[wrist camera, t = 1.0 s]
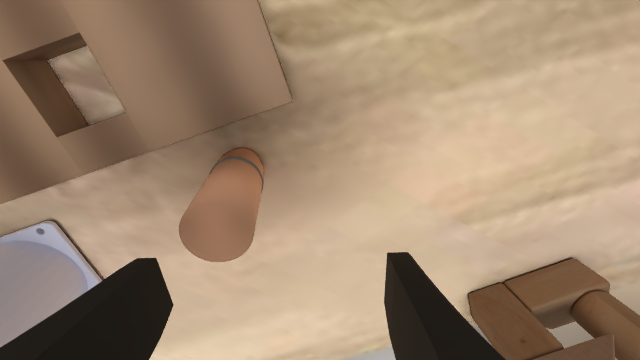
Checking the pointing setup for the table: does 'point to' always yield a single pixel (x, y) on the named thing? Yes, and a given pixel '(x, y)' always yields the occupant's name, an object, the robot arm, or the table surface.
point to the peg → (225, 208)
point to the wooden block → (556, 315)
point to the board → (126, 80)
